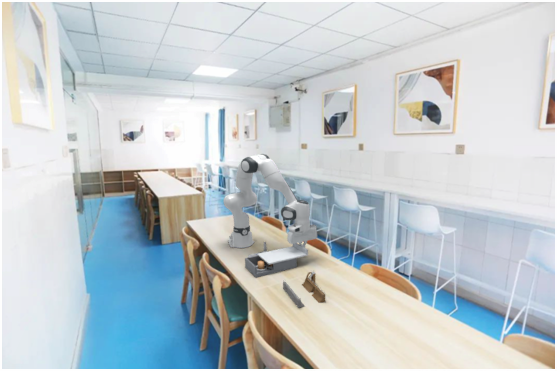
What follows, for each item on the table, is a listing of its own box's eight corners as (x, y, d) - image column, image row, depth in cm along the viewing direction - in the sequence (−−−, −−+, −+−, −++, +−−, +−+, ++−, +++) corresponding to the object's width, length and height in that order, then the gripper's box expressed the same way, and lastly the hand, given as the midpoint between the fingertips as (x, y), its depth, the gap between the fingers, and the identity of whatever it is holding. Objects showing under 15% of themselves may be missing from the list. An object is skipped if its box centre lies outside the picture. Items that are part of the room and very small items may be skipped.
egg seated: (268, 266, 169) (267, 258, 169) (274, 264, 171) (273, 257, 170) (271, 268, 166) (270, 261, 165) (277, 267, 168) (276, 259, 167)
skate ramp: (271, 286, 148) (270, 273, 147) (329, 274, 160) (329, 262, 159) (293, 318, 121) (293, 301, 120) (362, 301, 133) (362, 286, 132)
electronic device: (245, 244, 183) (266, 240, 190) (246, 259, 184) (267, 253, 191) (248, 247, 178) (270, 242, 185) (249, 262, 180) (270, 256, 186)
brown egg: (263, 267, 168) (262, 260, 167) (265, 269, 164) (265, 262, 164) (256, 268, 166) (256, 261, 165) (259, 271, 162) (259, 264, 162)
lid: (257, 255, 172) (257, 249, 171) (294, 247, 184) (294, 241, 183) (268, 264, 158) (268, 258, 157) (307, 255, 170) (307, 249, 169)
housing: (245, 268, 169) (244, 258, 168) (283, 259, 181) (283, 249, 180) (256, 279, 155) (255, 268, 154) (296, 268, 167) (296, 258, 166)
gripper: (313, 222, 183) (313, 243, 185) (286, 227, 173) (286, 249, 175) (319, 225, 177) (319, 246, 180) (291, 230, 168) (291, 252, 170)
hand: (302, 247), depth 177 cm, fingers closed
